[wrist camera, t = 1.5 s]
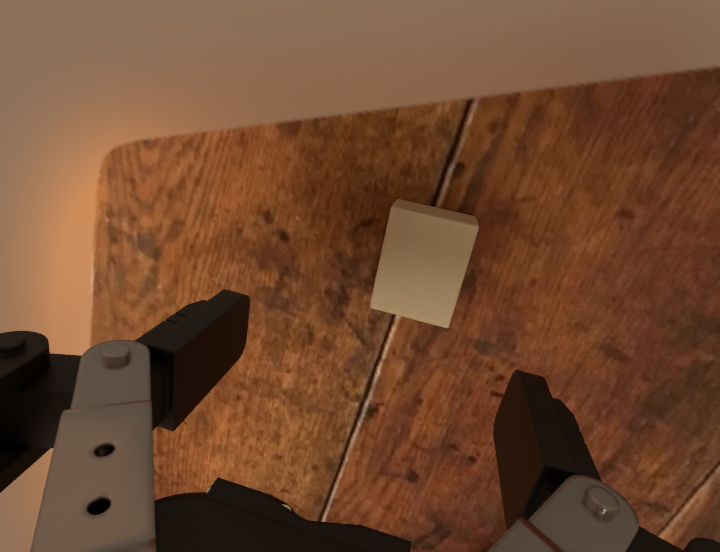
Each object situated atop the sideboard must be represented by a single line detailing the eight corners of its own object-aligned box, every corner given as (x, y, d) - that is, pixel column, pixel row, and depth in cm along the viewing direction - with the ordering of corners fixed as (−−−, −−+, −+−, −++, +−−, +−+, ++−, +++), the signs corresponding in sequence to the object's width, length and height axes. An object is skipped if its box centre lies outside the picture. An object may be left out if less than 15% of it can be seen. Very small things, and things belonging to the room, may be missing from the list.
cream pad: (397, 198, 24) (391, 206, 22) (476, 216, 23) (479, 226, 21) (376, 291, 26) (368, 308, 24) (448, 310, 26) (448, 329, 23)
